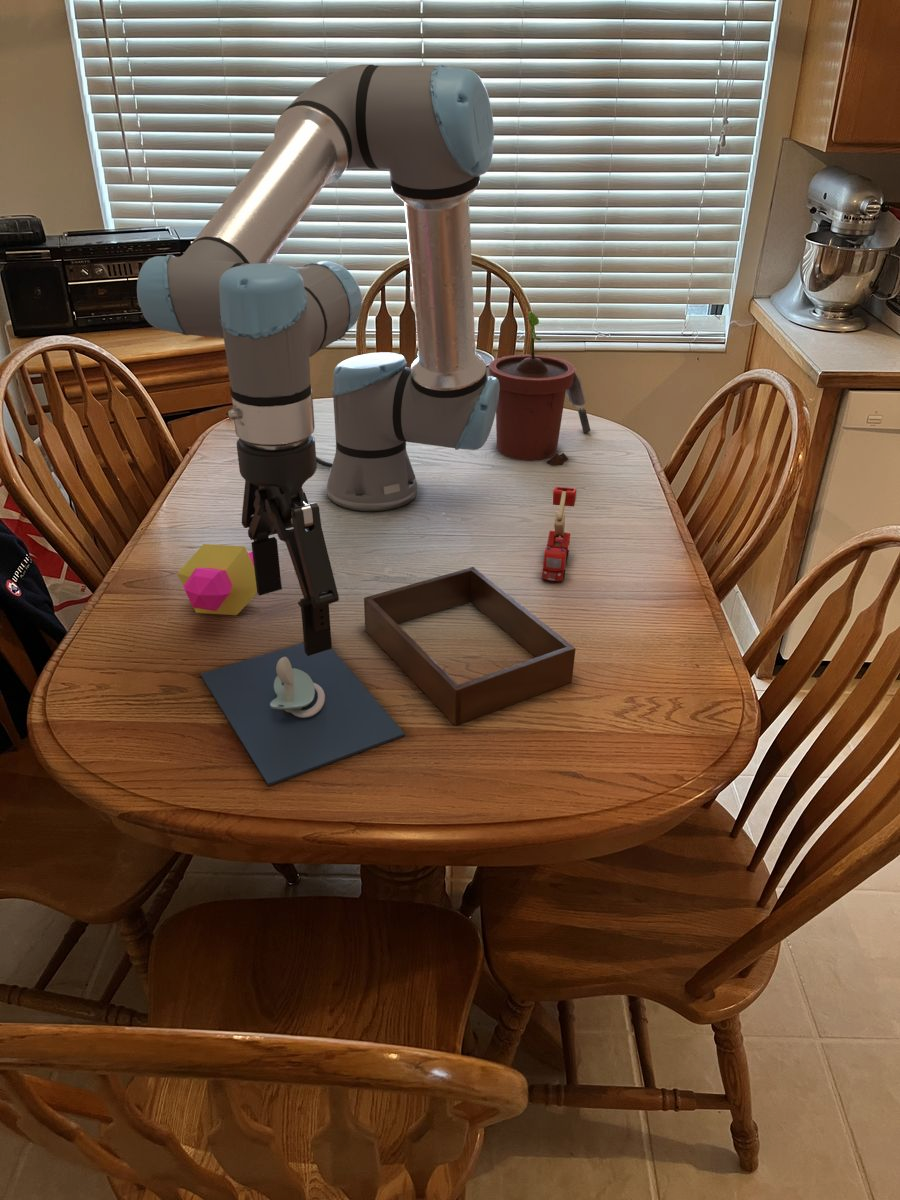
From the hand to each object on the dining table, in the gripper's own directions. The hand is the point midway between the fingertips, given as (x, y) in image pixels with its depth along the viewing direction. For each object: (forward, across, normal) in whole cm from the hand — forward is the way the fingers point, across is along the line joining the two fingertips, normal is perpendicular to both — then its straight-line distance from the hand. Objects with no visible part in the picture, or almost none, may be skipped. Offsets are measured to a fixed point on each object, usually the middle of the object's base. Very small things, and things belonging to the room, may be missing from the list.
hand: (292, 619), depth 98 cm
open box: (+12, +1, +22) cm, 25 cm away
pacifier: (+11, +1, 0) cm, 11 cm away
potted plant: (+13, -51, +72) cm, 89 cm away
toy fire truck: (+12, -13, +47) cm, 50 cm away
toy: (+12, -25, 0) cm, 27 cm away
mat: (+12, 0, 0) cm, 12 cm away
